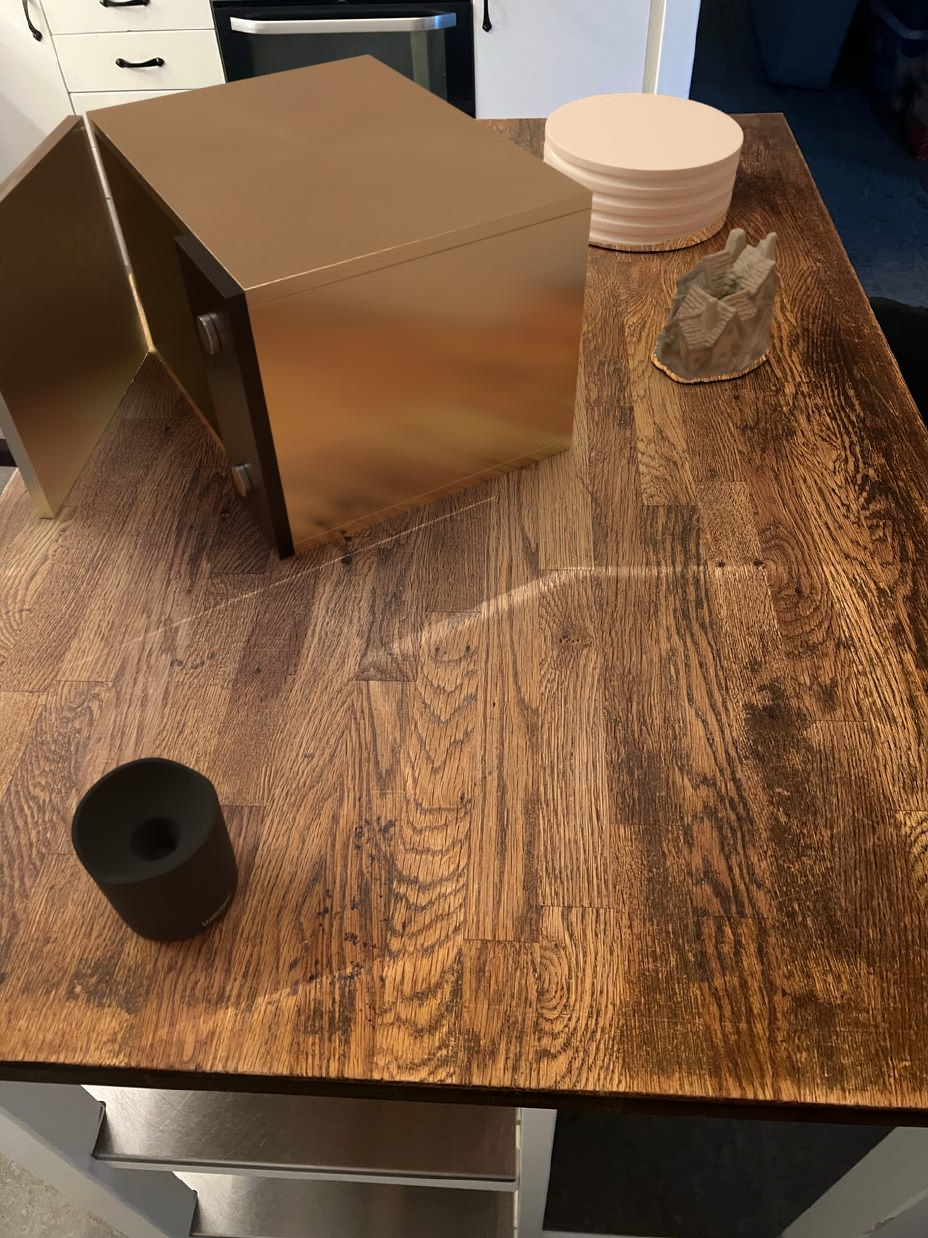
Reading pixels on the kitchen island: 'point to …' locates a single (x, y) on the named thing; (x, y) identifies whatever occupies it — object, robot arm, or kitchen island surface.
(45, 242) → the microwave door
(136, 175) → the microwave
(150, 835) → the pen holder
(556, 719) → the kitchen island surface
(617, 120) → the plate stack
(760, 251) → the ceramic cottage
